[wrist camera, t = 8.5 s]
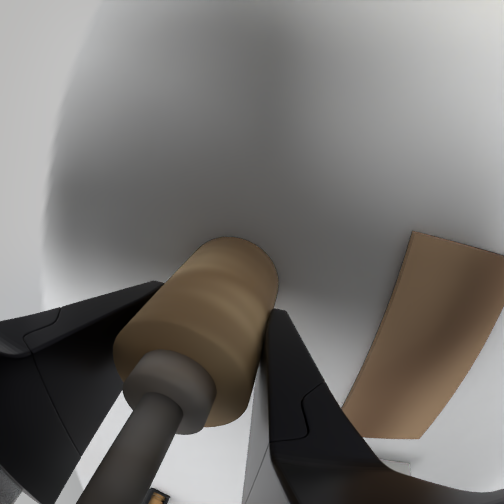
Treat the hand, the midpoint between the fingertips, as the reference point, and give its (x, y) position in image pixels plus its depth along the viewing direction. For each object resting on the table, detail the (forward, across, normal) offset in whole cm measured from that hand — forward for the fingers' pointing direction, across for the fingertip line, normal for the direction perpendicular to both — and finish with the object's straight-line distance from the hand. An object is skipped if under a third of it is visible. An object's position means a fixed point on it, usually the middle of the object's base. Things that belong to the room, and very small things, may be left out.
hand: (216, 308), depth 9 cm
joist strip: (+2, -8, +10) cm, 13 cm away
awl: (+2, 0, 0) cm, 2 cm away
